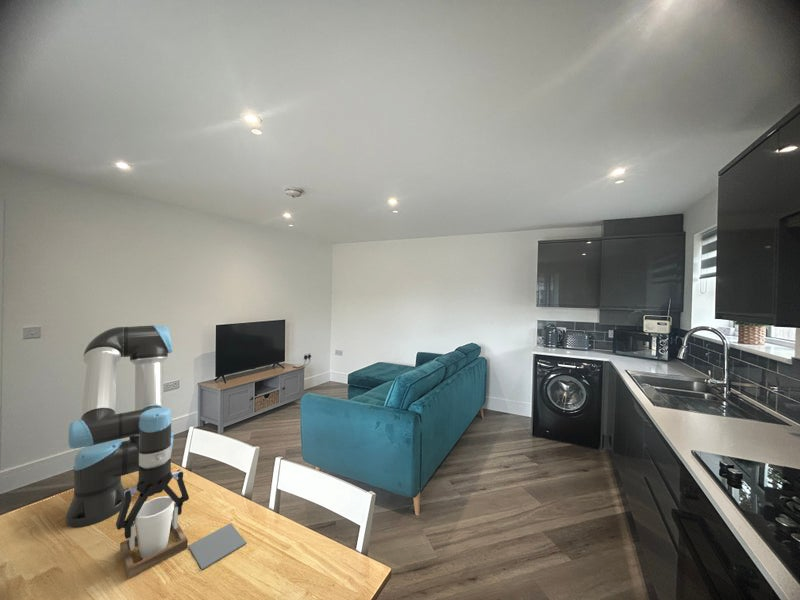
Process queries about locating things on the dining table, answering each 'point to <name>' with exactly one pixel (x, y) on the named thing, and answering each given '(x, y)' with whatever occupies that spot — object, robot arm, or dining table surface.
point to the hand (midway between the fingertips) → (154, 535)
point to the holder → (155, 558)
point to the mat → (216, 546)
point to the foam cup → (154, 525)
